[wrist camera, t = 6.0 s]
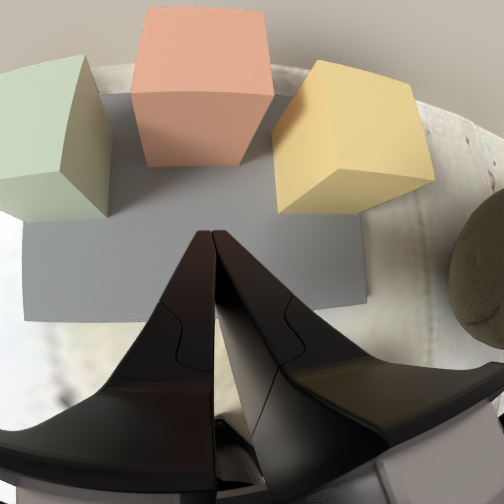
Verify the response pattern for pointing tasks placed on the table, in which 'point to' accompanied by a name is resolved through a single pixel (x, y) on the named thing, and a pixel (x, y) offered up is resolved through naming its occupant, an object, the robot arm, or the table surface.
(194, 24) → the terracotta block
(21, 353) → the table surface
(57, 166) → the sage block
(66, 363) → the table surface
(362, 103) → the mustard block
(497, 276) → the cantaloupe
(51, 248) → the grey mat
